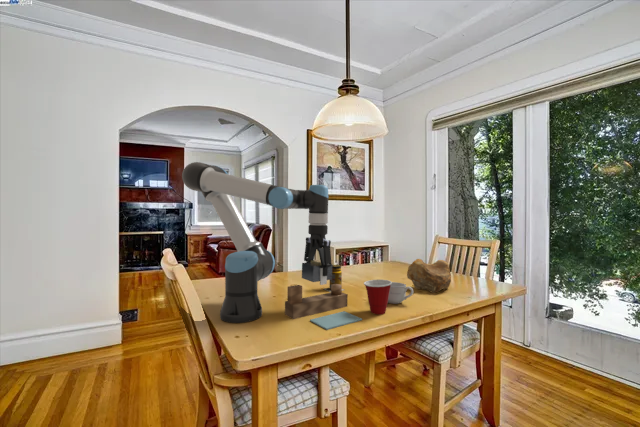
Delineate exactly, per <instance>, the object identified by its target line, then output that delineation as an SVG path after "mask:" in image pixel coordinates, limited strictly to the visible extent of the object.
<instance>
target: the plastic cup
mask: <svg viewBox="0 0 640 427" xmlns="http://www.w3.org/2000/svg"><path fill="white" fill-rule="evenodd" d="M392 282H393V281H391V280H388V279H370V280H366V281H364V282H363V285H364V287H365V290H366V293H367V300H368V306H369V310H370V313H371V314H374V315H384V314H386V312H387V307H388V304H389V303H388V297H389V291H390V286H391V284H392Z"/></svg>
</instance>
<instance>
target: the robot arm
mask: <svg viewBox="0 0 640 427" xmlns="http://www.w3.org/2000/svg"><path fill="white" fill-rule="evenodd" d="M181 177H182V178H181V179H182V182H183V184H184V185H185V187H187V188H188V189H190V190H192V191H195V192H201V193H202V195H203V197H204V199H205V200H206V201H207V202H210V203H211V205H212V206H213V209H215V212H216V213H217V215H218V217H219V219H220V222H221V223H222V224H223V226H224V228H225V231H226V232H227V233H228V235H229V237H230V240H231V242H232V244H234V246H235V249H236V251H235V252H231V253H229V254H228V255H227V256H226V257H225V263H224V269H225V270H224V272H225V273H224V275H225V276H224V277H225V279H224V281H225V282H224V284H225V285H224V286H225V290H224V291H225V293H224V294H225V295H224V299H223V302H222V306H221V309H220V314H219V316H220V318H219V319H220V320H222V321H224V322H226V323H233V324H235V323H236V324H237V323H239V324H240V323H248V322H252V321H255V320H257V319H260V318H261V317H262V316H263V308H262V304H261V301H260V299H259V295H258V282H260V281H261V280H264V279H266V278H268V276H270V275H271V274H272V273H273V271H274V269H275V265H276V261H275V257H274V255H273V254H272V253H271V251H269V250H267V249H266V248H265V246H264V245H263V243H262V242H260V241H258V240H256V237H255V236H254V234H253V233H252V231H251V229H250V227H249V225H248V223H247V221H246V220H245V218H244V217H243V214H242V213H241V211H240V209H239V207H238V205H237V203H236V201H235V199H234V198H239V199H244V200H248V201H252V202H256V203H259V204H262V205H263V204H264V205H268V206H270V207H273V208H275V209H280V210H287V209H289V210H292V209H295V210H301V209H304V210H308V224H309V225H308V228H307V229H308V234H309V235H310V236H308V237H305V248H304V255H303V261H304V262H305V263H307V262H311V260H315V256H316V253H317V252H318V255H319V261H321V265H322V266H321V267H320V281H319V285H321V286H322V285H327V284H328V280H327V272H328V267H330V266H332V265H333V263H332V253H331V252H332V251H331V243H332V241H331V239H329V240H328V239H326V235H328V230H329V229H328V225H327V224H328V223H329V222H328V217H329V215H328V214H329V187H328V186H327V185H325V184H311V185H309V187H308V189H304V190H303V189H293V188H288V187H284V186H280V185H279V186H278V185H274V184H270V183H265V182H262V181H258V180H253V179H249V178H245V177H241V176H236V175H234V174H233V175H232V174H229V173H228V172H227V171H226V170H225V169H224V168H222V167H221V166H217V165H213V164H207V163H204V162H200V161H199V162H198V161H193V162H190V163H188V164H187V165H186V166H185V167H184V168H183V171H182V174H181ZM233 197H234V198H233Z"/></svg>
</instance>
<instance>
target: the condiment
mask: <svg viewBox="0 0 640 427" xmlns="http://www.w3.org/2000/svg"><path fill="white" fill-rule="evenodd" d="M342 275H343V272H342V266H341V265H340V264H332V280H329V287H326V288H325V287H323V290H325V291H327V292H328V293H331V285H332V284H340V285H342V286H343V283H342V281H343V280H342V278H343V277H342ZM343 291H345V289H343V288H342V292H343Z"/></svg>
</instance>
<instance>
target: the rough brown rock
mask: <svg viewBox="0 0 640 427" xmlns="http://www.w3.org/2000/svg"><path fill="white" fill-rule="evenodd" d="M450 270H451V269H450V264H449V263H448V262H447V261H445V260H443V259H438V260H436V261H435V262H433V263H426V262H425V261H424V260H423V259H421V258H416V259H415V260H414V261H412V263H411V264H410V265H408V267H407V272H406V277H407V279H409V280H410V281H411V282H412V284H413V287H414V288H415V289H418V290H420V289H422V290H424V291H427V290H428V291H429V292H430V293H432V294H434V293H437V292H440V291H441V290H442V289H443V290H447V289H448V288H449V287H450V285H451V282H452V275H451V271H450Z"/></svg>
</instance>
